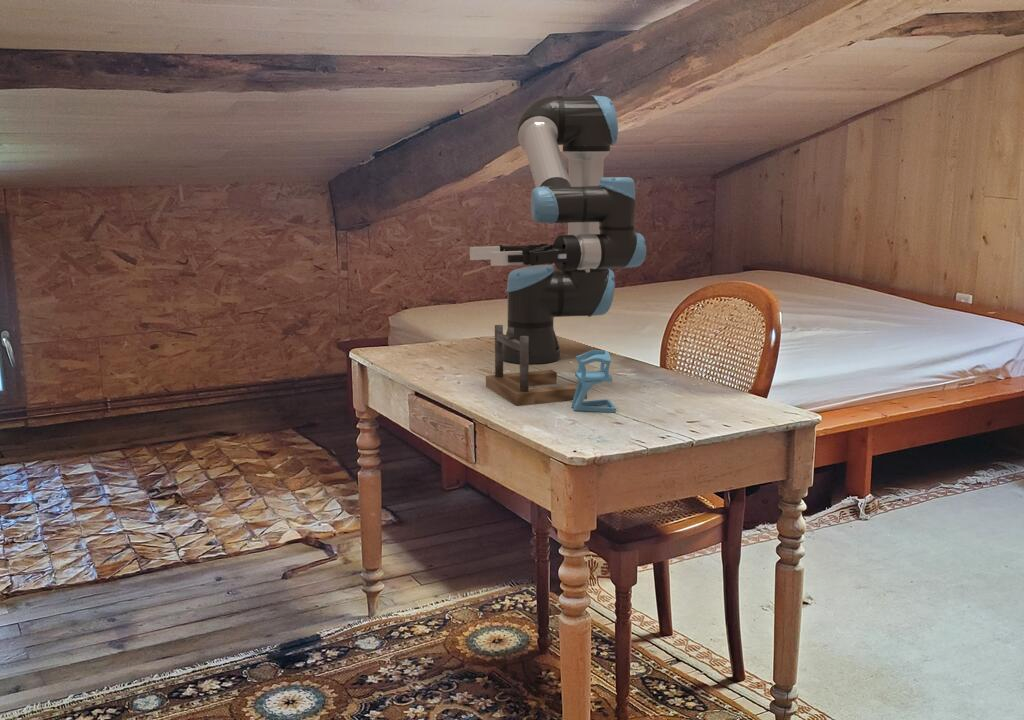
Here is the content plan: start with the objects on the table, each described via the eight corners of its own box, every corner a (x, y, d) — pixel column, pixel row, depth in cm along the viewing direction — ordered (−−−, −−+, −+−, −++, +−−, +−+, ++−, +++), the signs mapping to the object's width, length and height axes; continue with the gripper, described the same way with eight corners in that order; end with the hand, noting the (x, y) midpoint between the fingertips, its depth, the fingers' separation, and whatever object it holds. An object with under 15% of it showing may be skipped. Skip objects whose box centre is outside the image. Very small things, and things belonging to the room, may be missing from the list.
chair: (569, 404, 206) (570, 347, 203) (609, 403, 206) (610, 346, 204) (575, 413, 198) (575, 354, 196) (616, 412, 199) (617, 353, 196)
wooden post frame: (551, 380, 228) (551, 317, 225) (586, 398, 210) (587, 330, 207) (485, 386, 222) (485, 322, 219) (516, 405, 205) (516, 336, 202)
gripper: (600, 276, 200) (500, 280, 193) (553, 265, 223) (462, 268, 216) (600, 238, 198) (500, 241, 191) (553, 231, 221) (462, 234, 214)
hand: (480, 256), depth 203 cm, fingers open, 13 cm apart
